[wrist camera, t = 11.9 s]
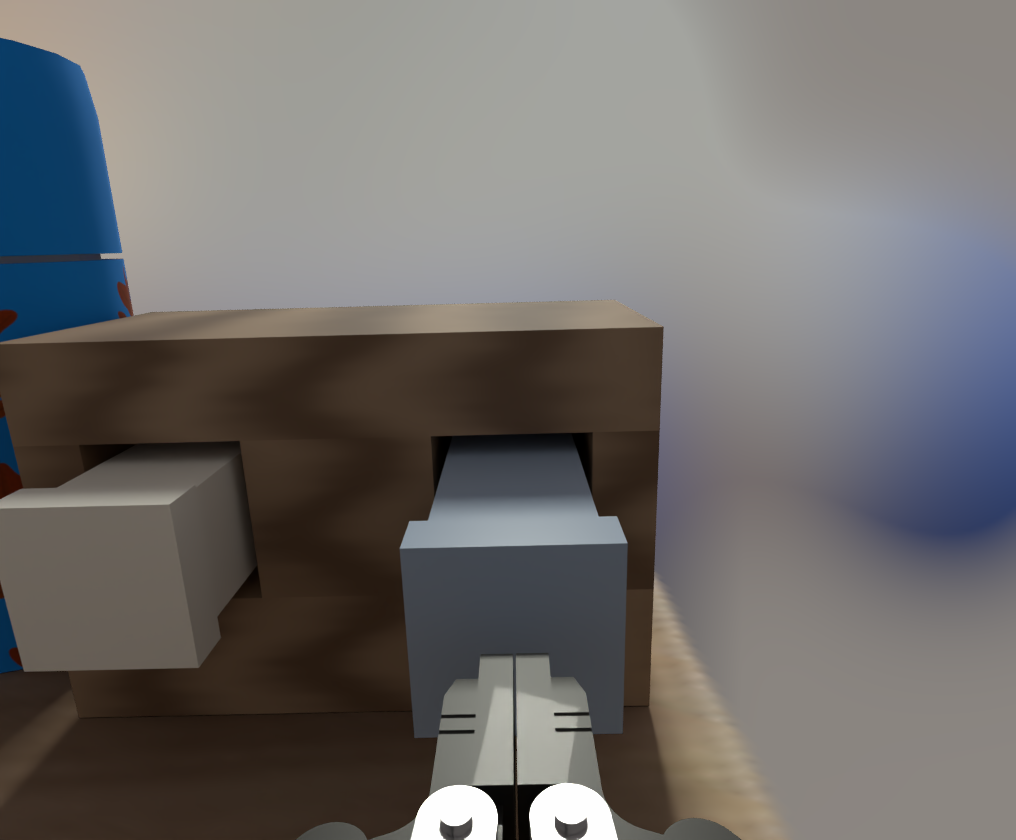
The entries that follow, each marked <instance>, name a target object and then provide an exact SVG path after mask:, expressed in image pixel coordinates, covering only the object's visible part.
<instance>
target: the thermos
mask: <svg viewBox="0 0 1016 840" xmlns="http://www.w3.org/2000/svg"><path fill="white" fill-rule="evenodd" d="M103 253H122V249H121V243H120V238H119V232H118V227H117V221H116V215H115V210H114V205H113V199H112V193H111V188H110V182H109V177H108V171H107V166H106V160H105V154H104V149H103V144H102V138H101V133H100V127H99V122H98V117H97V114H96V110H95V107H94V104H93V101H92V97H91V94H90V91H89V88H88V84H87V81H86V78H85V75H84V73H83V71H82V70H81V67H80V66H79V65H77V64H75V63H73V62H71V61H70V60H68V59H66V58H64V57H62V56H60V55H58V54H56V53H52V52H49V51H45V50H43V49H39V48H36V47H33V46H29V45H26V44H22V43H19V42H15V41H12V40H7V39H3V38H0V342H4V341H9V340H14V339H19V338H24V337H29V336H34V335H39V334H44V333H49V332H54V331H59V330H64V329H69V328H75V327H80V326H85V325H90V324H95V323H100V322H105V321H110V320H115V319H120V318H125V317H130V316H134V315H133V310H132V304H131V299H130V293H129V288H128V282H127V277H126V271H125V265H124V260H123V259H101V256H100V254H103ZM19 489H23V485H22V481H21V477H20V473H19V469H18V465H17V460H16V456H15V452H14V448H13V444H12V440H11V436H10V432H9V428H8V423H7V419H6V415H5V411H4V407H3V403H2V399H1V395H0V499H2V498H4V497H6V496H8V495H10V494H12V493H14V492H16V491H18V490H19ZM22 669H23V666H22V662H21V658H20V654H19V651H18V647H17V643H16V639H15V635H14V632H13V628H12V624H11V620H10V617H9V613H8V609H7V605H6V601H5V598H4V594H3V590H2V586H1V583H0V673H5V672H11V671H16V670H22Z"/></svg>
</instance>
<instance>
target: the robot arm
mask: <svg viewBox="0 0 1016 840" xmlns="http://www.w3.org/2000/svg"><path fill="white" fill-rule="evenodd" d="M516 707H517V788H518V828H519V840H741V839H740V838H739V837H737V836H736V835H735V834H733V833H732V832H731V831H729V830H728V829H727V828H725V827H723V826H721V825H720V824H718V823H715V822H712V821H710V820H705V819H699V818H689V819H684V820H680V821H678V822H675V823H674V824H673V825H671V826H670V827H669V828H668V829H667V830H666V831H665V833H664V835H662V834H659V833H655V832H652V831H648V830H645V829H642V828H639V827H636V826H634V825H632V824H630V823H628V822H626V821H625V820H623V819H622V818H620V817H619V816H618V815H617V814H616V813H615V812H614V811H613V810H612V809H611V808H610V806H609V805H608V803H607V802H606V800H605V798H604V795H603V792H602V787H601V781H600V775H599V769H598V763H597V757H596V751H595V745H594V739H593V733H592V726H591V720H590V716H589V708H588V702H587V696H586V692H585V691H584V690H583V689H582V687H581V686H580V685H579V683H578V682H577V681H576V679H575V678H574V677H551V675H550V664H549V654H548V653H516ZM296 840H367V838H366V836H365V835H364V833H363V832H362V831H361V830H360V829H359V828H357V827H356V826H354V825H351V824H349V823H344V822H331V823H326V824H322V825H319V826H316V827H314V828H312V829H310V830H308V831H307V832H305V833H304V834H302V835H301V836H300V837H299V838H297V839H296ZM369 840H516V795H515V711H514V671H513V654H481V655H480V665H479V678H478V679H456V680H455V681H454V683H453V684H452V686H451V687H450V688H449V690H448V691H447V692H446V694H445V695H444V700H443V707H442V714H441V720H440V727H439V734H438V741H437V748H436V754H435V761H434V768H433V775H432V782H431V788H430V794H429V798H428V799H427V800H426V801H425V802H424V803H423V804H422V806H421V807H420V809H419V811H418V814H417V817H416V818H415V819H414V820H413V821H411V822H410V823H409V824H407V825H406V826H404V827H402V828H400V829H399V830H396V831H394V832H391V833H388V834H385V835H382V836H379V837H376V838H373V839H369Z"/></svg>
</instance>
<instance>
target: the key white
mask: <svg viewBox="0 0 1016 840" xmlns="http://www.w3.org/2000/svg"><path fill="white" fill-rule="evenodd" d="M256 566H257V558H256V551H255V544H254V537H253V530H252V523H251V516H250V510H249V503H248V496H247V489H246V482H245V475H244V468H243V461H242V454H241V447H240V441H221V442H180V443H140V444H136V445H134V446H133V447H131V448H129V449H127V450H125V451H123V452H122V453H120V454H118V455H116V456H114V457H112V458H110V459H109V460H107V461H105V462H103V463H101V464H99V465H98V466H96V467H94V468H92V469H90V470H88V471H87V472H85V473H83V474H81V475H79V476H77V477H76V478H74V479H72V480H70V481H68V482H66V483H65V484H63V485H61V486H59V487H57V488H31V489H19V490H18V491H16V492H14V493H12V494H10V495H8V496H6V497H4V498H2V499H0V583H1V586H2V590H3V594H4V598H5V601H6V605H7V609H8V613H9V617H10V620H11V624H12V628H13V632H14V635H15V639H16V643H17V647H18V651H19V654H20V658H21V662H22V666H23V669H24V672H31V671H77V670H123V669H168V668H199V667H200V666H201V664H202V663H203V662H204V660H205V659H206V657H207V656H208V655H209V653H210V652H211V651H212V649H213V648H214V646H215V645H216V644H217V642H218V641H219V640H220V638H221V636H220V630H219V624H218V618H217V616H218V615H219V614H220V612H221V611H222V610H223V609H224V607H225V606H226V605H227V603H228V602H229V601H230V600H231V598H232V597H233V596H234V594H235V593H236V592H237V591H238V589H239V588H240V587H241V585H242V584H243V583H244V582H245V580H246V579H247V578H248V576H249V575H250V574H251V573H252V571H253V570H254V569H255V567H256Z"/></svg>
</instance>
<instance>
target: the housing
mask: <svg viewBox="0 0 1016 840" xmlns="http://www.w3.org/2000/svg"><path fill="white" fill-rule="evenodd" d="M662 349H663V326H661V325H659V324H657V323H656V322H654V321H652V320H650V319H648V318H647V317H645V316H643V315H641V314H639V313H637V312H635V311H634V310H632V309H630V308H628V307H626V306H625V305H623V304H621V303H619V302H617V301H615V300H594V301H593V300H591V301H554V302H519V303H518V302H517V303H478V304H446V305H445V304H444V305H443V304H442V305H406V306H405V305H403V306H366V307H329V308H295V309H294V308H292V309H291V308H290V309H254V310H217V311H178V312H150V313H145V314H141V315H135V316H130V317H125V318H120V319H115V320H110V321H105V322H100V323H95V324H90V325H85V326H80V327H75V328H69V329H64V330H59V331H54V332H49V333H44V334H39V335H34V336H29V337H24V338H19V339H14V340H9V341H4V342H0V395H1V399H2V403H3V407H4V411H5V415H6V419H7V423H8V428H9V432H10V436H11V440H12V444H13V448H14V452H15V456H16V460H17V465H18V469H19V473H20V477H21V481H22V485H23V489H31V488H57V487H59V486H61V485H63V484H65V483H66V482H68V481H70V480H72V479H74V478H76V477H77V476H79V475H81V474H83V473H85V472H87V471H88V470H90V469H92V468H94V467H96V466H98V465H99V464H101V463H103V462H105V461H107V460H109V459H110V458H112V457H114V456H116V455H118V454H120V453H122V452H123V451H125V450H127V449H129V448H131V447H133V446H134V445H136V444H140V443H180V442H221V441H240V447H241V454H242V461H243V468H244V475H245V482H246V489H247V496H248V503H249V510H250V516H251V523H252V530H253V537H254V544H255V551H256V558H257V566H256V567H255V569H254V570H253V571H252V573H251V574H250V575H249V576H248V578H247V579H246V580H245V582H244V583H243V584H242V585H241V587H240V588H239V589H238V591H237V592H236V593H235V594H234V596H233V597H232V598H231V600H230V601H229V602H228V603H227V605H226V606H225V607H224V609H223V610H222V611H221V612H220V614H219V615H218V616H217V618H218V624H219V630H220V636H221V638H220V640H219V641H218V642H217V644H216V645H215V646H214V648H213V649H212V651H211V652H210V653H209V655H208V656H207V657H206V659H205V660H204V662H203V663H202V664H201V666H200V667H199V668H168V669H123V670H77V671H68V674H69V678H70V682H71V686H72V691H73V695H74V699H75V703H76V707H77V711H78V715H79V718H86V717H133V716H179V715H226V714H273V713H320V712H367V711H412V700H411V687H410V674H409V661H408V648H407V636H406V623H405V610H404V597H403V585H402V572H401V559H400V546H401V543H402V541H403V538H404V535H405V532H406V529H407V527H408V524H409V521H428V519H429V515H430V512H431V509H432V505H433V502H434V498H435V495H436V491H437V488H438V484H439V481H440V477H441V474H442V471H443V467H444V464H445V460H446V457H447V453H448V450H449V446H450V443H451V440H452V436H462V435H502V434H543V433H571V434H572V437H573V440H574V443H575V446H576V449H577V452H578V455H579V458H580V461H581V464H582V467H583V470H584V473H585V476H586V479H587V483H588V486H589V489H590V492H591V495H592V498H593V501H594V504H595V507H596V510H597V513H598V516H599V517H604V516H617V518H618V520H619V523H620V525H621V528H622V530H623V533H624V535H625V538H626V540H627V543H628V548H627V587H626V626H625V666H624V705H623V706H648V705H649V694H650V667H651V641H652V615H653V589H654V562H655V536H656V510H657V509H656V508H657V484H658V483H657V482H658V456H659V430H660V405H661V403H660V402H661V378H662V352H663V351H662Z"/></svg>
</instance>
